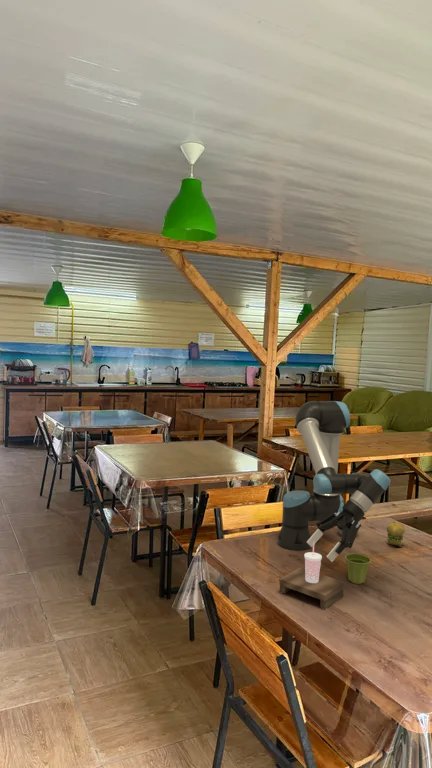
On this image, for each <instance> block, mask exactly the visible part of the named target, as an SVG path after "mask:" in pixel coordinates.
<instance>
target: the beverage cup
mask: <svg viewBox="0 0 432 768" xmlns="http://www.w3.org/2000/svg"><path fill="white" fill-rule="evenodd" d="M303 556H304V569H305V580H306V581H307V582H309V583H317V582H318V581H319V574H321V573H320V572H321V571H320V570H321V567H320V564H321V565H322V559H323V556H322V554H320V553H319V552H315V544H314V541H313V547H312V551H311V552H305V553H304V555H303Z"/></svg>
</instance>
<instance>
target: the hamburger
mask: <svg viewBox="0 0 432 768" xmlns="http://www.w3.org/2000/svg"><path fill="white" fill-rule="evenodd" d="M405 531H406V530H405V526H404V525H403V524H402V523H400V522H397V521H395V520H394V521H391V522H390V523H389V524H387V527H386V532H387V541H386V542H387V543H388V544H390V545H392V546H395V547H401V546H403V544H404V542H403V539H404V535H403V534H405Z"/></svg>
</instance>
